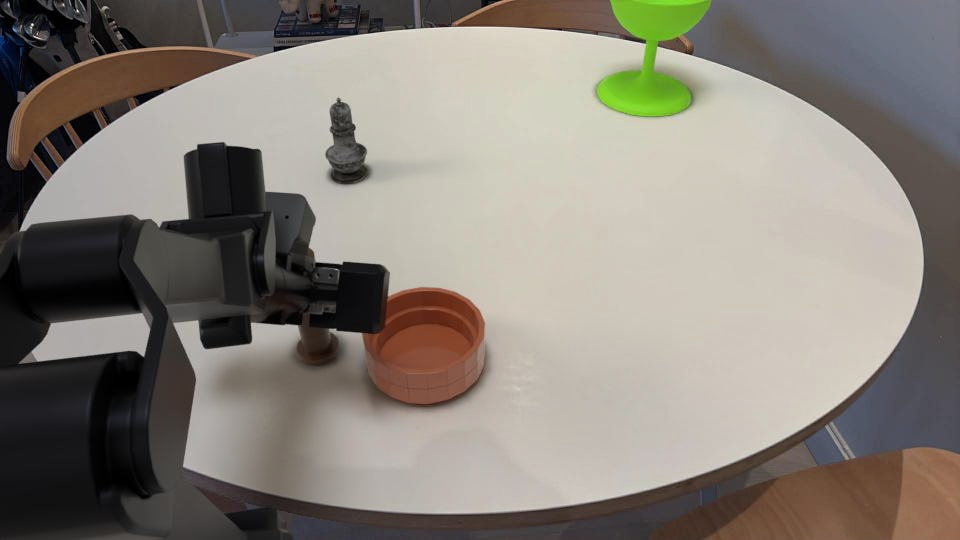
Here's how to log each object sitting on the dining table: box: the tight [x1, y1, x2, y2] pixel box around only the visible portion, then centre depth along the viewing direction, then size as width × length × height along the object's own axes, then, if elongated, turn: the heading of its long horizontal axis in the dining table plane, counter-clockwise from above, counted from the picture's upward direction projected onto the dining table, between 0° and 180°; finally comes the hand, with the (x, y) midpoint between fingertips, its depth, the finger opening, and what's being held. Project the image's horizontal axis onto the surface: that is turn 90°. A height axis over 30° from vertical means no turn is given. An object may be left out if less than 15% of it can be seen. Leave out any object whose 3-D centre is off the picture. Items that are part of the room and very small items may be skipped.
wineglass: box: [596, 0, 713, 118], centre depth 114 cm, size 16×16×18 cm
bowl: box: [361, 286, 486, 405], centre depth 72 cm, size 12×12×5 cm
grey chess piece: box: [324, 96, 368, 185], centre depth 97 cm, size 6×6×12 cm
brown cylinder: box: [296, 247, 340, 367], centre depth 70 cm, size 4×4×13 cm
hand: (313, 296), depth 71 cm, fingers closed on brown cylinder, 3 cm apart
